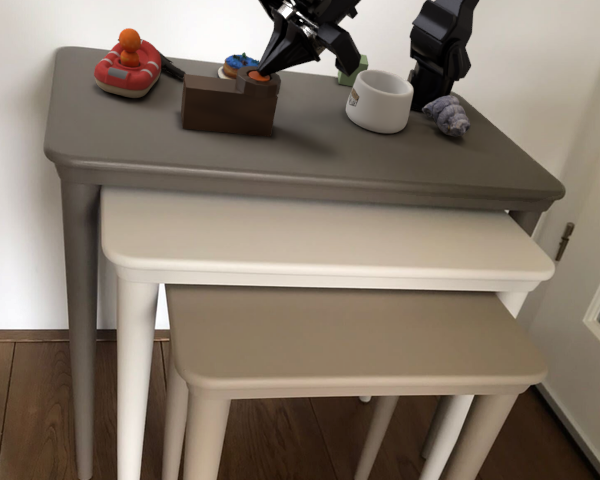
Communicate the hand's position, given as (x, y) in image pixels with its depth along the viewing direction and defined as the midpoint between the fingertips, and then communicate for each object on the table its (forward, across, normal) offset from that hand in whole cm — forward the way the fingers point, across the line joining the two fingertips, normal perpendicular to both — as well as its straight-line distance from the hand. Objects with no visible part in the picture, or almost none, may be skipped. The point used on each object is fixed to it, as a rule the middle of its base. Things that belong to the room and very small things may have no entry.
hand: (259, 73), depth 87 cm
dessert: (0, -14, +11) cm, 17 cm away
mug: (-10, +1, +21) cm, 23 cm away
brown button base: (+8, -2, +3) cm, 9 cm away
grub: (-17, +8, +28) cm, 33 cm away
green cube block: (-13, -10, +24) cm, 29 cm away
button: (+1, 0, +2) cm, 2 cm away
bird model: (+9, -19, 0) cm, 21 cm away
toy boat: (+13, -16, -2) cm, 21 cm away
